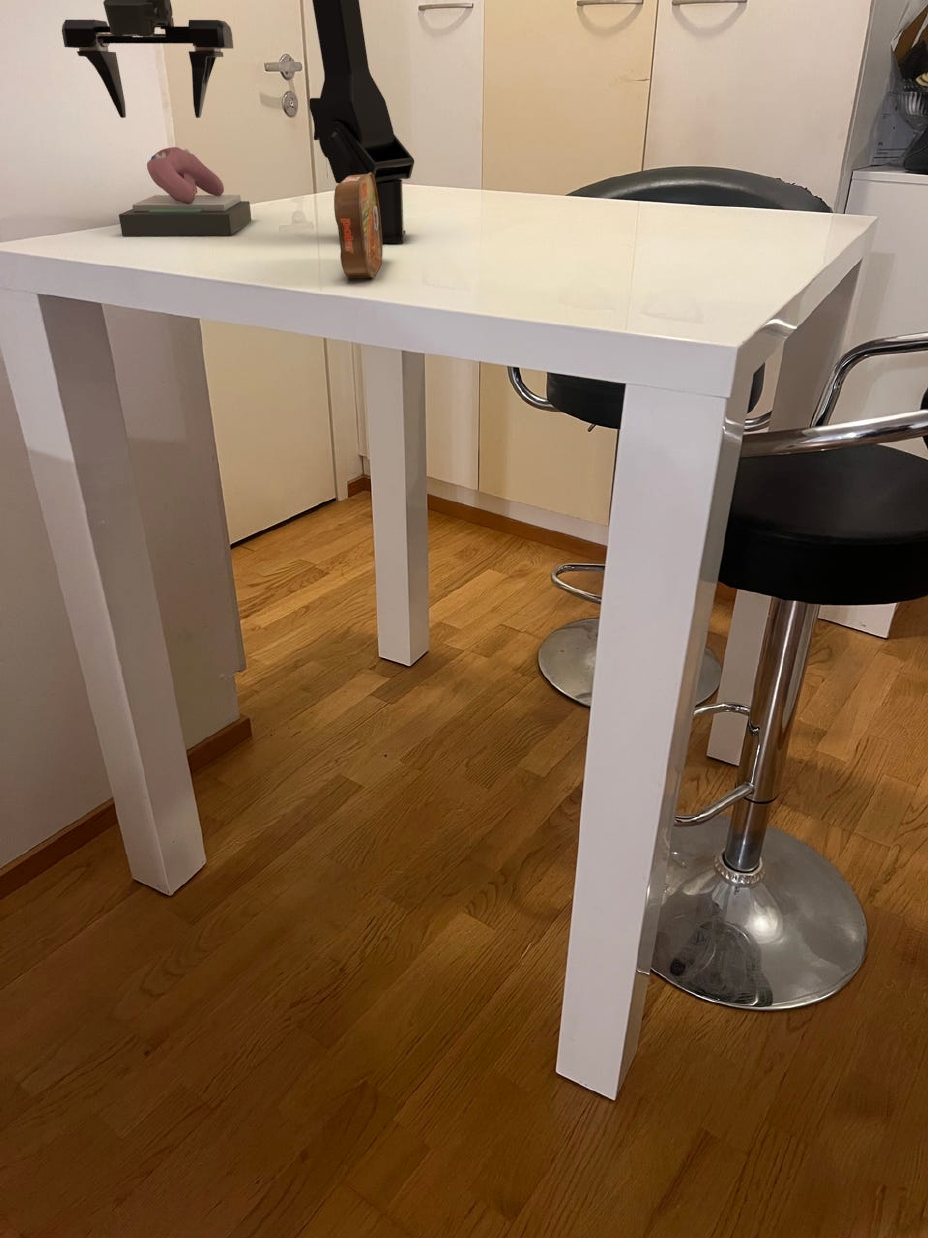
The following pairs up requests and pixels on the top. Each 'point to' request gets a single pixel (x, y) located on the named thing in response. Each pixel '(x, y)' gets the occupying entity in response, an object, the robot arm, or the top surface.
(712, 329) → the top surface
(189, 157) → the video game controller
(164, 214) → the scale
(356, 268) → the tin
